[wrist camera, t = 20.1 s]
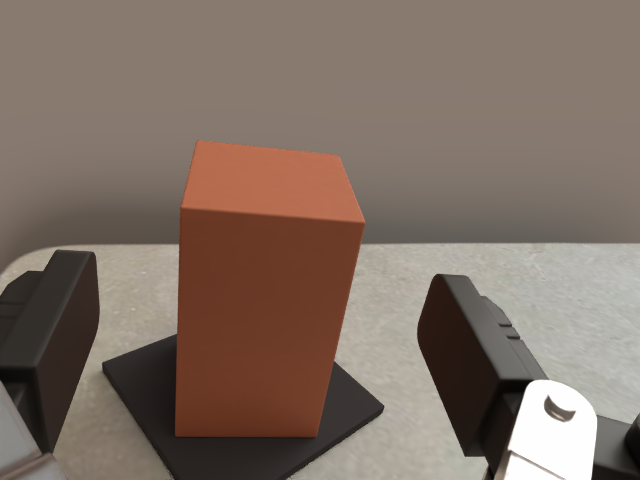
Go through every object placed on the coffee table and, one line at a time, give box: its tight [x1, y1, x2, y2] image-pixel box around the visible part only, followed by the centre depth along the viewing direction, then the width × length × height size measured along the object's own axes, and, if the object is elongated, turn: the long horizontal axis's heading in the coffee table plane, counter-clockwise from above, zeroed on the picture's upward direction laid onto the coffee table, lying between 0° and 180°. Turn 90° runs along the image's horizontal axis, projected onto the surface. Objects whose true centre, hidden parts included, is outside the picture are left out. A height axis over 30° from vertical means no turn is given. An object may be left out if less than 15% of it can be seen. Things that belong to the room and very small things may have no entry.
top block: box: [175, 140, 365, 437], centre depth 18 cm, size 5×5×9 cm
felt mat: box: [102, 334, 384, 480], centre depth 20 cm, size 8×8×1 cm
